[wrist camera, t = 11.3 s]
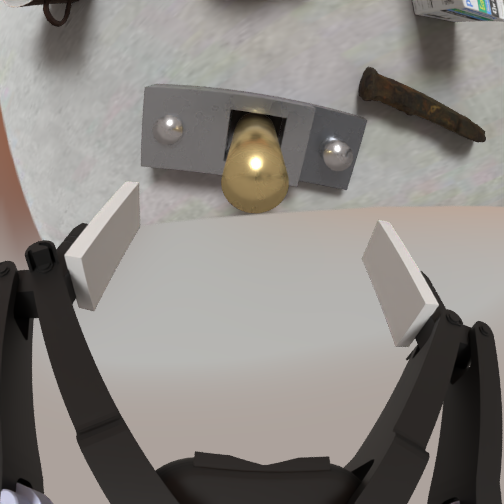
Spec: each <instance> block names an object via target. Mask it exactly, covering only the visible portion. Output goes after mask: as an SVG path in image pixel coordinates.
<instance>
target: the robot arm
mask: <svg viewBox="0 0 504 504" xmlns="http://www.w3.org/2000/svg"><path fill="white" fill-rule="evenodd" d="M139 228H140V206H139V183H138V182H128V181H126V182H125V183H124V184H123V185H122V186H121V187H120V188H119V190H118V191H117V192H116V193H115V194H114V195H113V196H112V197H111V198H110V200H109V201H108V202H107V203H106V204H105V205H104V206H103V208H102V209H101V210H100V211H99V212H98V213H97V215H96V216H95V217H94V218H93V219H92V221H91V222H90V223H89V224H85V223H82V224H80V225H78V226H77V227H75V228H74V229H73V230H72V231H71V232H70V233H69V235H68V236H67V237H66V238H65V240H64V242H62V243H61V244H60V246H59V247H58V248H57V249H56V248H55V245H54V243H53V242H51V241H45V240H43V241H38V242H36V243H34V244H32V245H31V246H29V247H28V249H27V250H26V252H25V257H26V261H27V264H28V267H29V270H20V271H17V268H16V266H15V264H14V262H11V261H5V262H1V263H0V504H53V503H52V502H51V500H50V499H49V498H48V497H47V496H45V495H44V489H43V476H42V470H41V463H40V457H39V451H38V445H37V438H36V429H35V419H34V408H33V393H32V337H33V336H32V335H33V320H34V318H39V321H40V325H41V329H42V333H43V337H44V341H45V345H46V348H47V352H48V355H49V359H50V362H51V365H52V369H53V372H54V375H55V378H56V380H57V384H58V387H59V389H60V392H61V395H62V397H63V400H64V403H65V406H66V408H67V410H68V413H69V416H70V418H71V420H72V423H73V425H74V427H75V430H76V433H77V436H76V438H77V442H78V444H79V446H80V449H81V451H82V453H83V455H84V457H85V459H86V461H87V463H88V465H89V467H90V469H91V471H92V472H93V474H94V476H95V478H96V480H97V482H98V483H99V485H100V487H101V489H102V490H103V492H104V494H105V495H106V497H107V499H108V500H109V502H110V504H407V503H408V501H409V499H410V497H411V495H412V494H413V492H414V490H415V488H416V486H417V484H418V482H419V480H420V478H421V476H422V474H423V471H424V469H425V467H426V465H427V463H428V460H429V453H428V452H426V451H425V449H426V446H427V443H428V441H429V439H430V436H431V434H432V431H433V429H434V426H435V423H436V421H437V418H438V415H439V413H440V410H441V407H442V404H443V413H442V422H441V430H440V438H439V445H438V451H437V457H436V462H435V467H434V472H433V478H432V482H431V486H430V491H429V496H428V502H427V504H502V502H501V491H500V473H501V458H502V402H501V388H500V377H499V368H498V361H497V354H496V347H495V341H494V335H493V333H492V330H491V329H490V327H489V326H488V325H487V324H485V323H484V322H481V321H477V322H476V323H475V324H474V325H473V327H472V328H471V327H468V326H465V325H463V322H462V320H461V318H460V317H459V316H458V315H457V314H456V313H455V312H453V311H451V310H448V309H446V308H445V306H444V304H443V303H442V301H441V299H440V297H439V296H438V294H437V292H436V290H435V288H434V287H433V286H432V283H431V281H430V280H429V278H428V277H427V276H426V275H425V274H424V273H423V272H422V271H420V270H419V268H418V267H417V265H416V263H415V262H414V260H413V258H412V257H411V255H410V254H409V252H408V250H407V249H406V247H405V246H404V244H403V242H402V241H401V239H400V238H399V236H398V235H397V233H396V232H395V230H394V229H393V227H392V226H391V224H390V223H389V222H386V221H381V220H378V221H377V224H376V226H375V229H374V231H373V234H372V236H371V238H370V241H369V243H368V246H367V248H366V250H365V252H364V255H363V257H362V260H363V263H364V265H365V268H366V270H367V272H368V275H369V277H370V280H371V282H372V285H373V287H374V290H375V292H376V294H377V297H378V300H379V302H380V305H381V307H382V310H383V313H384V315H385V318H386V321H387V324H388V326H389V329H390V332H391V335H392V337H393V340H394V343H395V346H396V347H408V346H410V344H411V343H412V342H413V340H414V339H416V341H417V344H418V345H417V346H416V347H415V349H414V350H413V351H412V352H411V354H410V355H409V356H408V357H407V358H406V360H408V359H409V358H410V359H409V361H408V363H407V365H406V367H405V369H404V371H403V374H402V376H401V378H400V380H399V382H398V384H397V386H396V388H395V390H394V391H393V393H392V395H391V397H390V399H389V401H388V402H387V404H386V406H385V408H384V410H383V411H382V413H381V415H380V417H379V419H378V420H377V422H376V423H375V425H374V427H373V429H372V430H371V432H370V433H369V435H368V437H367V438H366V440H365V441H364V443H363V444H362V446H361V448H360V449H359V451H358V452H357V454H356V455H355V457H354V458H353V459H352V460H351V461H350V462H349V463H348V464H347V465H346V466H345V467H344V468H342V467H340V466H337V465H334V464H330V460H329V457H308V458H296V459H292V460H288V461H283V462H280V463H275V464H270V465H260V464H257V463H253V462H250V461H246V460H243V459H240V458H236V457H233V456H230V455H220V454H211V453H203V452H195V457H193V458H185V459H180V460H176V461H173V462H170V463H168V464H166V465H164V466H162V467H161V468H159V469H157V470H156V471H155V470H154V468H153V467H152V465H151V464H150V462H149V461H148V459H147V458H146V456H145V455H144V453H143V451H142V450H141V448H140V447H139V445H138V443H137V442H136V440H135V438H134V437H133V435H132V433H131V432H130V430H129V428H128V427H127V425H126V423H125V421H124V420H123V418H122V416H121V414H120V413H119V411H118V409H117V407H116V405H115V403H114V401H113V399H112V398H111V396H110V394H109V391H108V389H107V387H106V385H105V383H104V381H103V379H102V377H101V375H100V373H99V370H98V368H97V366H96V364H95V362H94V359H93V357H92V355H91V352H90V350H89V348H88V345H87V343H86V340H85V338H84V335H83V333H82V330H81V327H80V325H79V322H78V319H77V317H76V314H75V311H74V309H73V305H72V304H73V302H74V300H75V299H76V300H77V303H78V306H79V308H82V309H87V310H91V311H95V309H96V307H97V305H98V303H99V301H100V299H101V297H102V295H103V293H104V291H105V289H106V287H107V285H108V283H109V281H110V280H111V278H112V276H113V274H114V272H115V270H116V268H117V267H118V265H119V263H120V261H121V259H122V257H123V256H124V254H125V252H126V250H127V249H128V247H129V245H130V243H131V242H132V240H133V238H134V237H135V235H136V233H137V231H138V230H139ZM469 366H470V367H469ZM443 401H444V402H443Z"/></svg>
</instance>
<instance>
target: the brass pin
mask: <svg viewBox="0 0 504 504" xmlns="http://www.w3.org/2000/svg"><path fill="white" fill-rule="evenodd" d="M221 185H222V190H223V193H224V195H225V197H226V199H227V200H228V201H229V202H230V203H231V204H232V205H233V206H234V207H236V208H237V209H239V210H241V211H244V212H249V213H262V212H266V211H269V210H271V209H273V208H275V207H276V206H277V205H279V204H280V203H281V202H282V200H283V199H284V197H285V196H286V194H287V191H288V187H289V178H288V174H287V170H286V166H285V163H284V159H283V155H282V152H281V148H280V145H279V141H278V138H277V134H276V131H275V127H274V124H273V122H272V120H271V119H270V118H269V117H268V116H266V115H265V114H260V113H254V112H252V113H248V114H246V115H244V116H242V117H241V118H240V119H239V121H238V122H237V125H236V128H235V131H234V135H233V138H232V142H231V145H230V149H229V152H228V156H227V160H226V163H225V167H224V171H223V174H222V180H221Z"/></svg>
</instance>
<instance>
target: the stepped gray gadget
mask: <svg viewBox="0 0 504 504" xmlns="http://www.w3.org/2000/svg"><path fill="white" fill-rule="evenodd" d="M232 110H240V111H247V112H254V113H260V114H266V115H272V116H278V117H282V122H281V127H280V132H279V137H278V141H279V145H280V148H281V152H282V155H283V159H284V163H285V166H286V170H287V174H288V178H289V185H290V186H296V187H297V186H298V181H303V182H309V183H314V184H319V185H324V186H329V187H334V188H339V189H344V190H347V187H348V184H349V181H350V178H351V175H352V171H353V168H354V165H355V162H356V158H357V155H358V151H359V148H360V144H361V141H362V137H363V134H364V130H365V127H366V123H367V120H366V119H364V118H363V117H360V116H357V115H353V114H350V113H346V112H342V111H339V110H335V109H331V108H327V107H323V106H319V105H314V104H310V103H305V102H301V101H296V100H291V99H286V98H281V97H275V96H269V95H264V94H257V93H251V92H244V91H237V90H229V89H220V88H211V87H200V86H187V85H170V84H154V85H151V86H147V87H145V91H144V104H143V120H142V142H141V166H144V167H155V168H165V169H175V170H184V171H193V172H201V173H210V174H217V175H222V174H223V171H224V167H225V163H226V160H227V156H228V152H229V151H228V150H227V143H228V136H229V130H230V123H231V116H232Z"/></svg>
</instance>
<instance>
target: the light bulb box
mask: <svg viewBox="0 0 504 504" xmlns="http://www.w3.org/2000/svg"><path fill="white" fill-rule="evenodd" d="M412 1H413V6H414V12H415V14H416V15H420V16H426V17H432V18H437V19H442V20H447V21H452V22H466V21H504V0H412Z"/></svg>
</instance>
